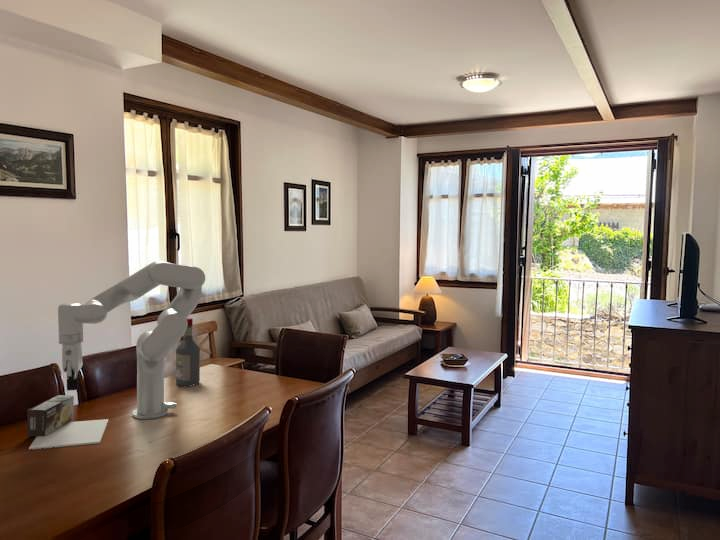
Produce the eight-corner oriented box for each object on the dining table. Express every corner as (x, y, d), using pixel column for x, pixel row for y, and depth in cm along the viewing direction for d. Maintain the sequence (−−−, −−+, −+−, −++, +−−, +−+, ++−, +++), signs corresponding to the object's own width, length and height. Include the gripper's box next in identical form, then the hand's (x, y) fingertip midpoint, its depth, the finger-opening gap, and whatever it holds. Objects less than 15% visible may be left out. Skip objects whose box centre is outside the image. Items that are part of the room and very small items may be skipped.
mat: (108, 420, 191) (108, 419, 191) (99, 443, 170) (99, 441, 170) (45, 425, 184) (45, 423, 184) (28, 449, 163) (28, 447, 163)
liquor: (186, 387, 235) (186, 321, 233) (173, 384, 240) (173, 319, 238) (202, 383, 243) (203, 319, 241) (189, 379, 248) (189, 317, 246)
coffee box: (56, 394, 188) (26, 408, 172) (74, 395, 188) (45, 409, 172) (56, 419, 189) (26, 436, 173) (74, 420, 189) (45, 436, 173)
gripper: (79, 341, 178) (80, 394, 180) (86, 333, 192) (87, 383, 194) (54, 343, 176) (55, 396, 177) (63, 335, 190) (64, 384, 191)
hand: (72, 389), depth 185 cm, fingers closed
